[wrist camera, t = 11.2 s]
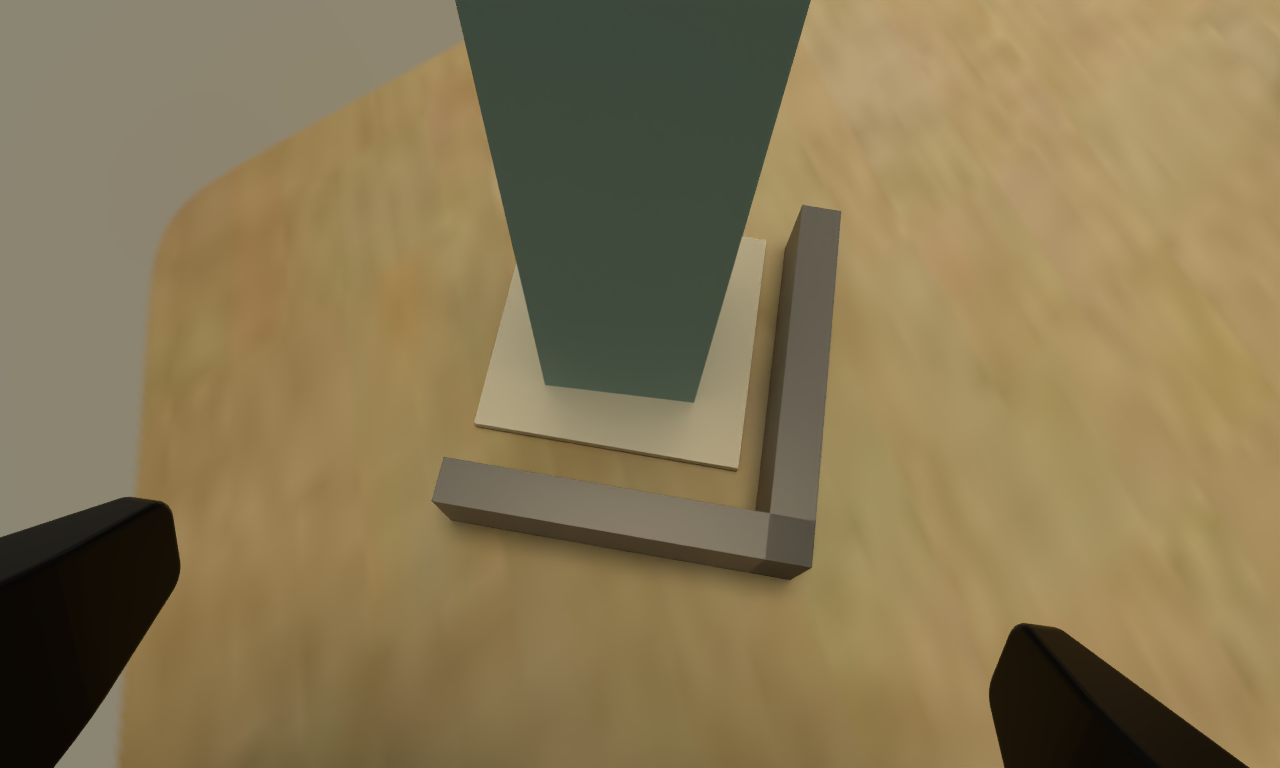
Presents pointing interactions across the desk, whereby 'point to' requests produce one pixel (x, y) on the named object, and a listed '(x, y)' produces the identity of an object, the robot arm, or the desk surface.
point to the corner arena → (674, 429)
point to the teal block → (628, 170)
